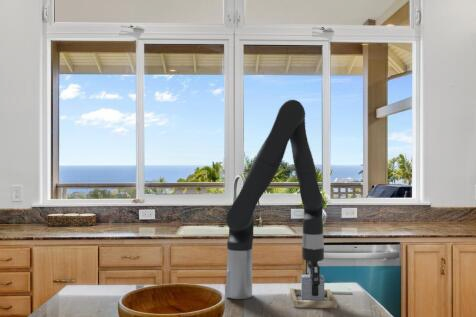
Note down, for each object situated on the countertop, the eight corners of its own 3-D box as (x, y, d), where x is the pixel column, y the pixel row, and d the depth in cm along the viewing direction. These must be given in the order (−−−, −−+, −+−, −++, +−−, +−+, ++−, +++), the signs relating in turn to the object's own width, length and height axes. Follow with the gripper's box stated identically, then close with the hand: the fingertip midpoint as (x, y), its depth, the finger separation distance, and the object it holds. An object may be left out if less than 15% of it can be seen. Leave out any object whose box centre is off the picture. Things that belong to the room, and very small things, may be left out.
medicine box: (323, 299, 148) (323, 274, 148) (324, 303, 144) (324, 278, 144) (300, 298, 149) (301, 274, 149) (301, 302, 145) (301, 277, 145)
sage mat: (321, 293, 155) (321, 291, 155) (317, 285, 166) (317, 283, 166) (351, 294, 154) (351, 291, 154) (344, 285, 165) (344, 283, 165)
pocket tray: (293, 307, 140) (293, 301, 140) (290, 294, 154) (290, 288, 154) (337, 308, 139) (337, 302, 139) (329, 294, 153) (329, 289, 153)
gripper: (300, 242, 154) (300, 286, 154) (304, 250, 140) (305, 298, 140) (320, 242, 154) (320, 286, 154) (327, 250, 140) (327, 298, 139)
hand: (313, 292), depth 147 cm, fingers open, 8 cm apart
